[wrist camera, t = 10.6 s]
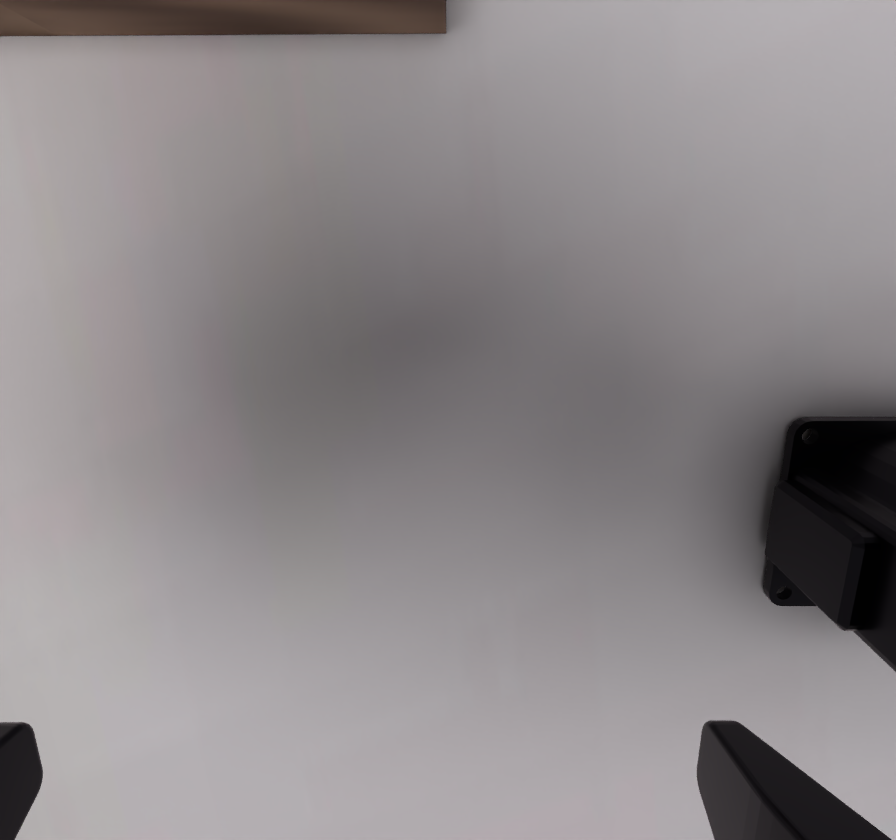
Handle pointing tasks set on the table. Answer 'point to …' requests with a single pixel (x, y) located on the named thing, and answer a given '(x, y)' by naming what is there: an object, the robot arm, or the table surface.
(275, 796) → the table surface
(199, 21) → the socket
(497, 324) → the table surface
